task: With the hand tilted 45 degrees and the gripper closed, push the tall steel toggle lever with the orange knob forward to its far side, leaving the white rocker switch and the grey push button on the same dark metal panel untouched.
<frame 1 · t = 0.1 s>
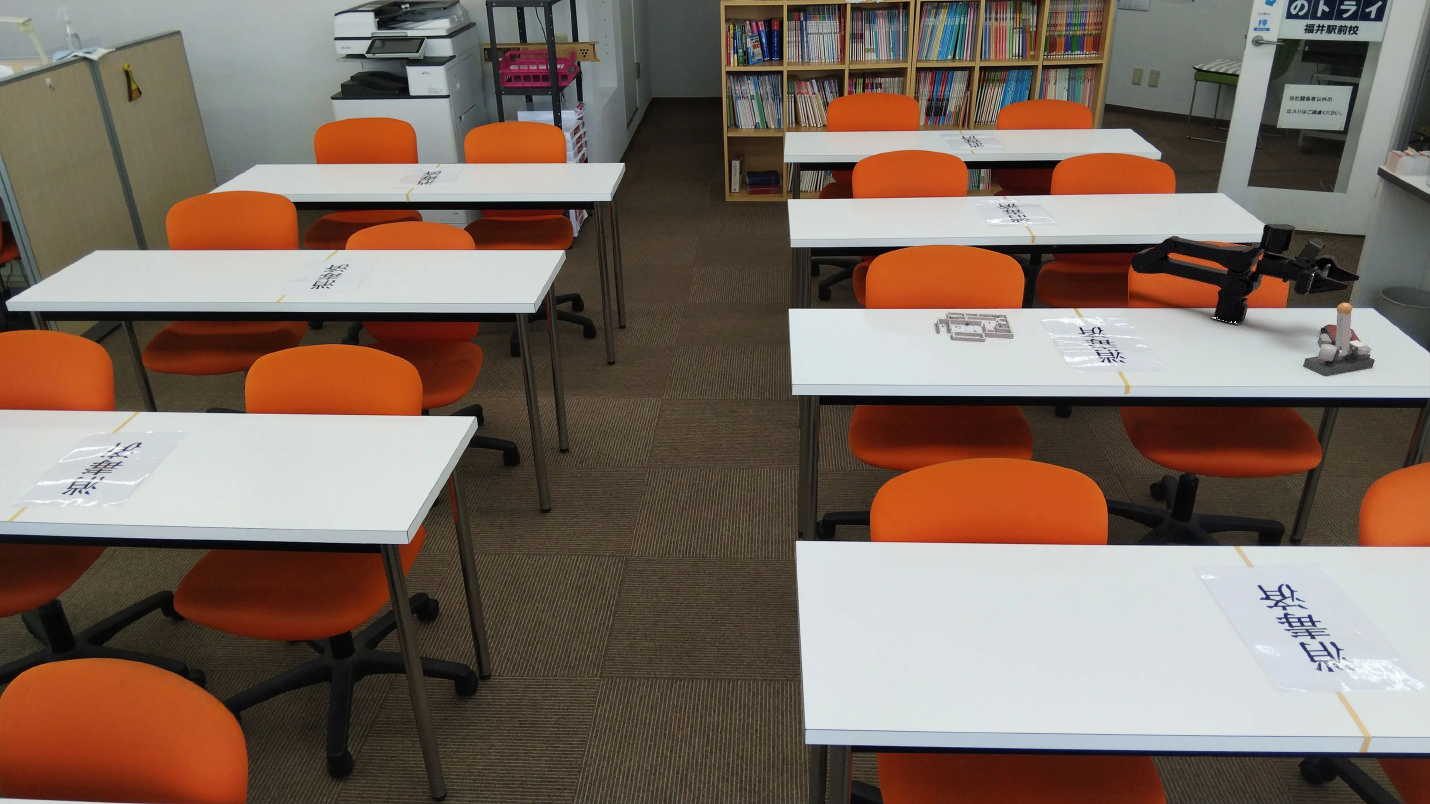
hand: (1353, 282, 230), 17 cm above the table, tool horizontal, fingers open, 9 cm apart
switch panel: (1337, 366, 226), on the table
push button: (1327, 352, 222), point 4 cm above the table, slide at 0.0 cm
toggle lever: (1343, 330, 223), point 9 cm above the table, hinge at -15.0°
rocker switch: (1358, 347, 225), point 4 cm above the table, hinge at 10.0°
walkie-talkie: (1337, 349, 237), on the table
floor plan model: (974, 334, 245), on the table
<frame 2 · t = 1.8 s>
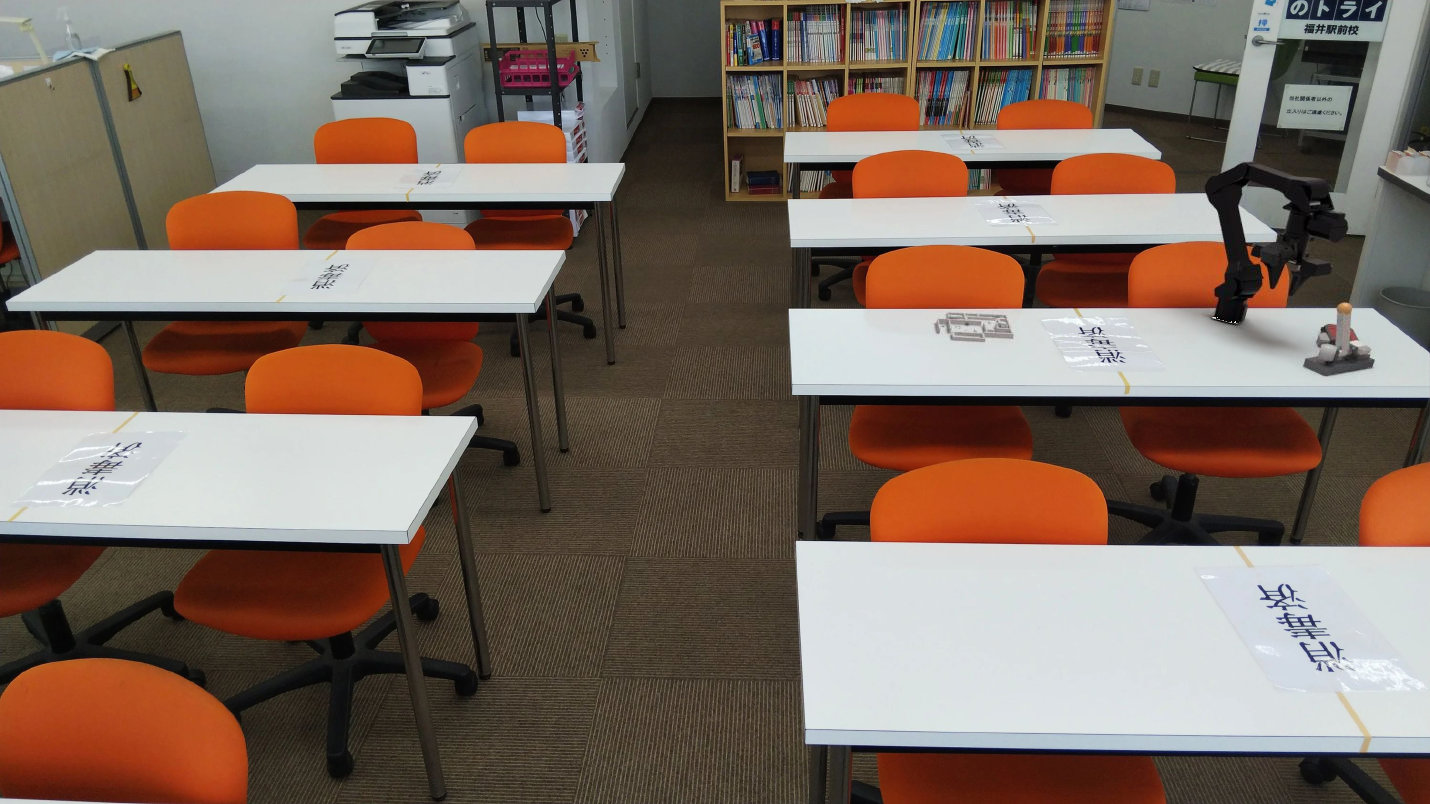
hand: (1281, 292, 237), 12 cm above the table, tool pointing down, fingers open, 5 cm apart
nothing on the table moved.
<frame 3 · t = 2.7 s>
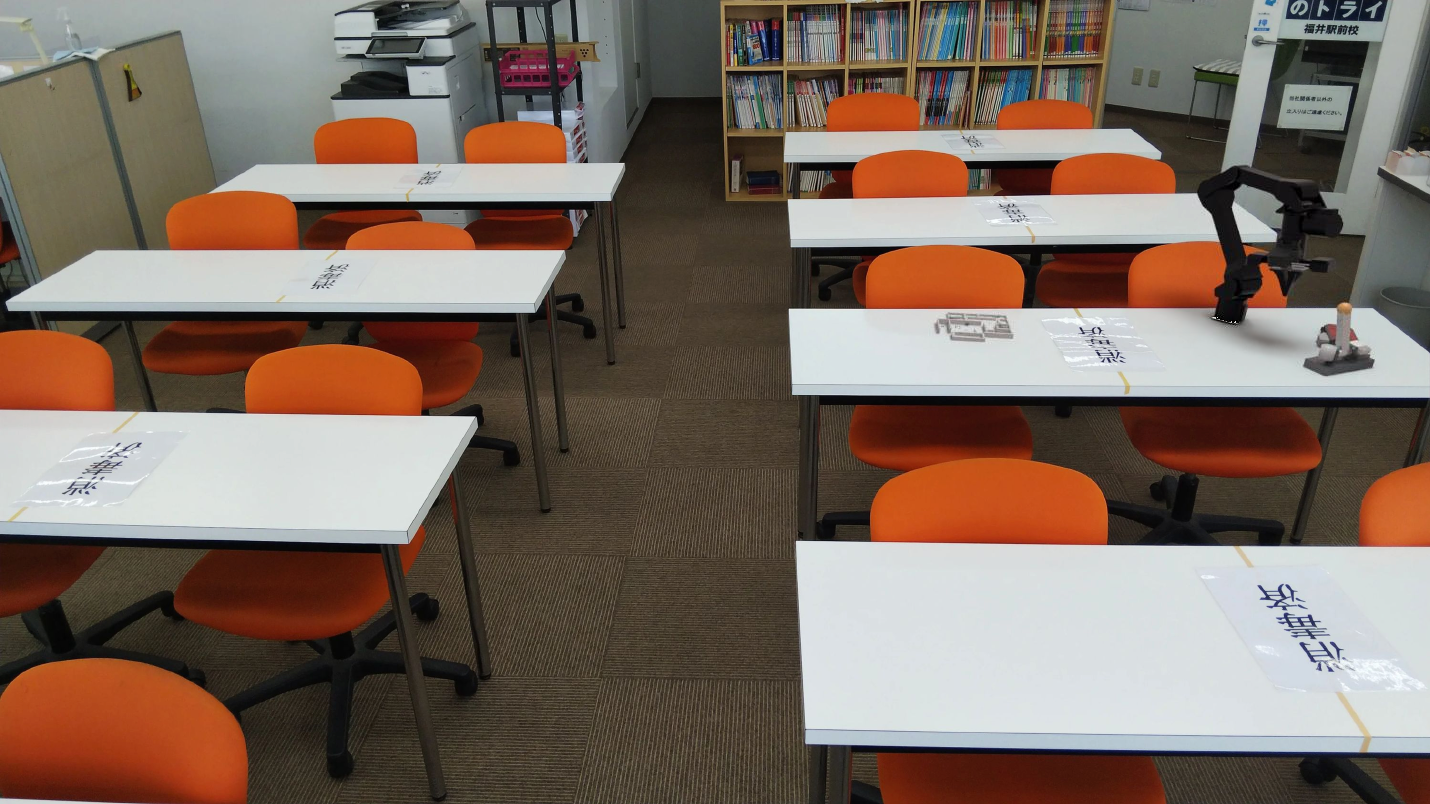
hand: (1285, 296, 236), 11 cm above the table, tool pointing down, fingers closed
nothing on the table moved.
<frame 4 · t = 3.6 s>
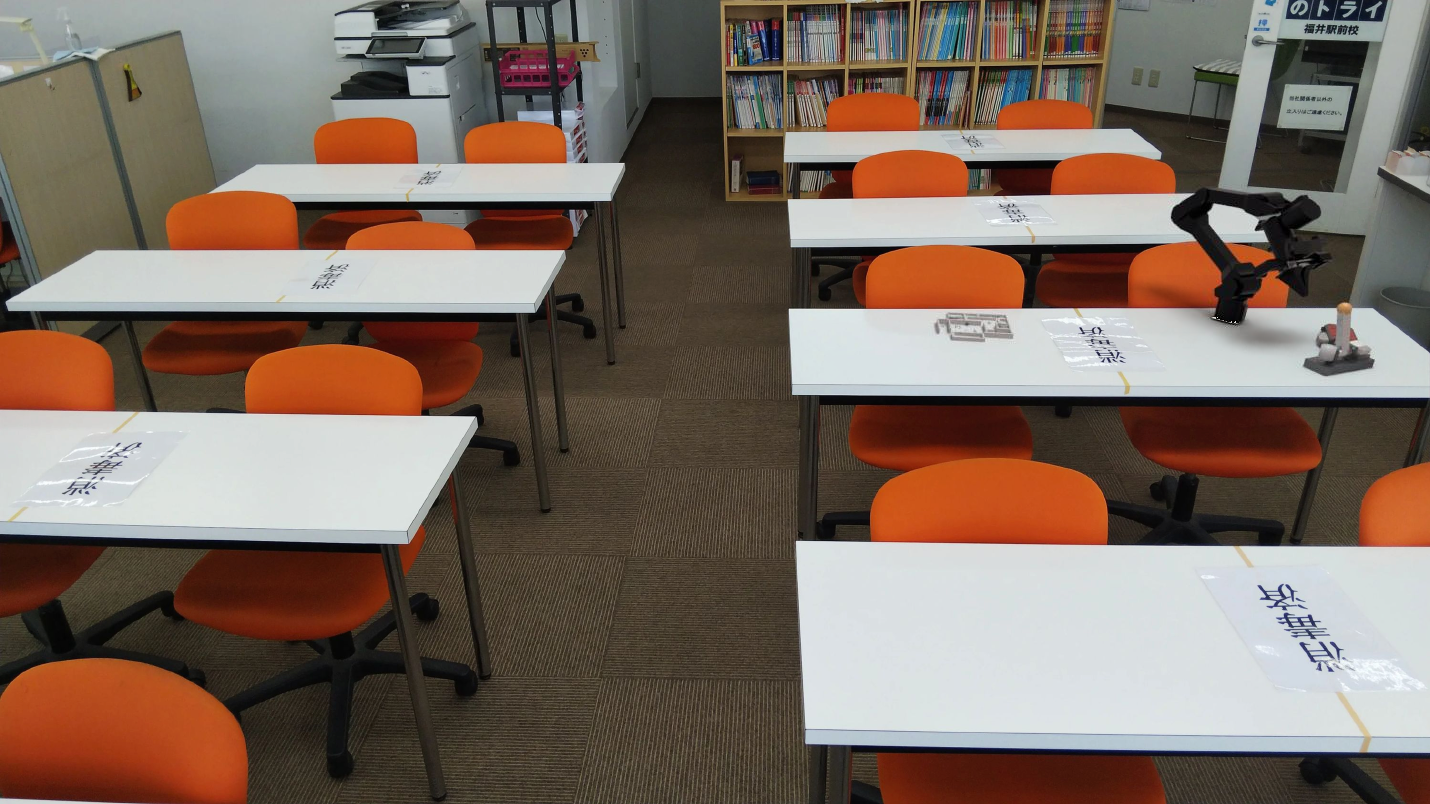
hand: (1305, 296, 231), 13 cm above the table, tool tilted 45°, fingers closed
nothing on the table moved.
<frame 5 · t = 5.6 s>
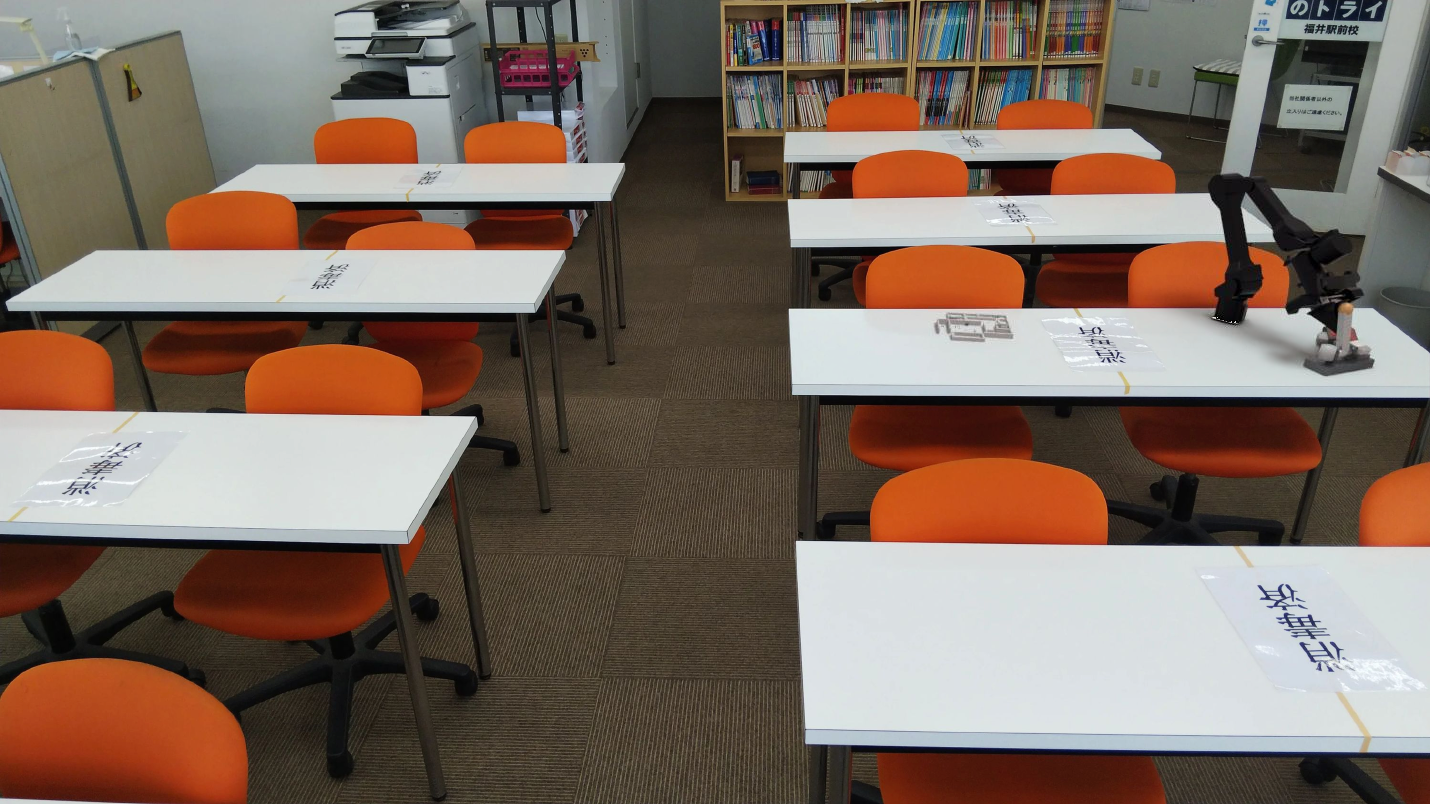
hand: (1339, 333, 224), 8 cm above the table, tool tilted 45°, fingers closed, pressing on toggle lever
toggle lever: (1344, 330, 223), point 9 cm above the table, hinge at -13.0°, touching gripper
everything else where it was.
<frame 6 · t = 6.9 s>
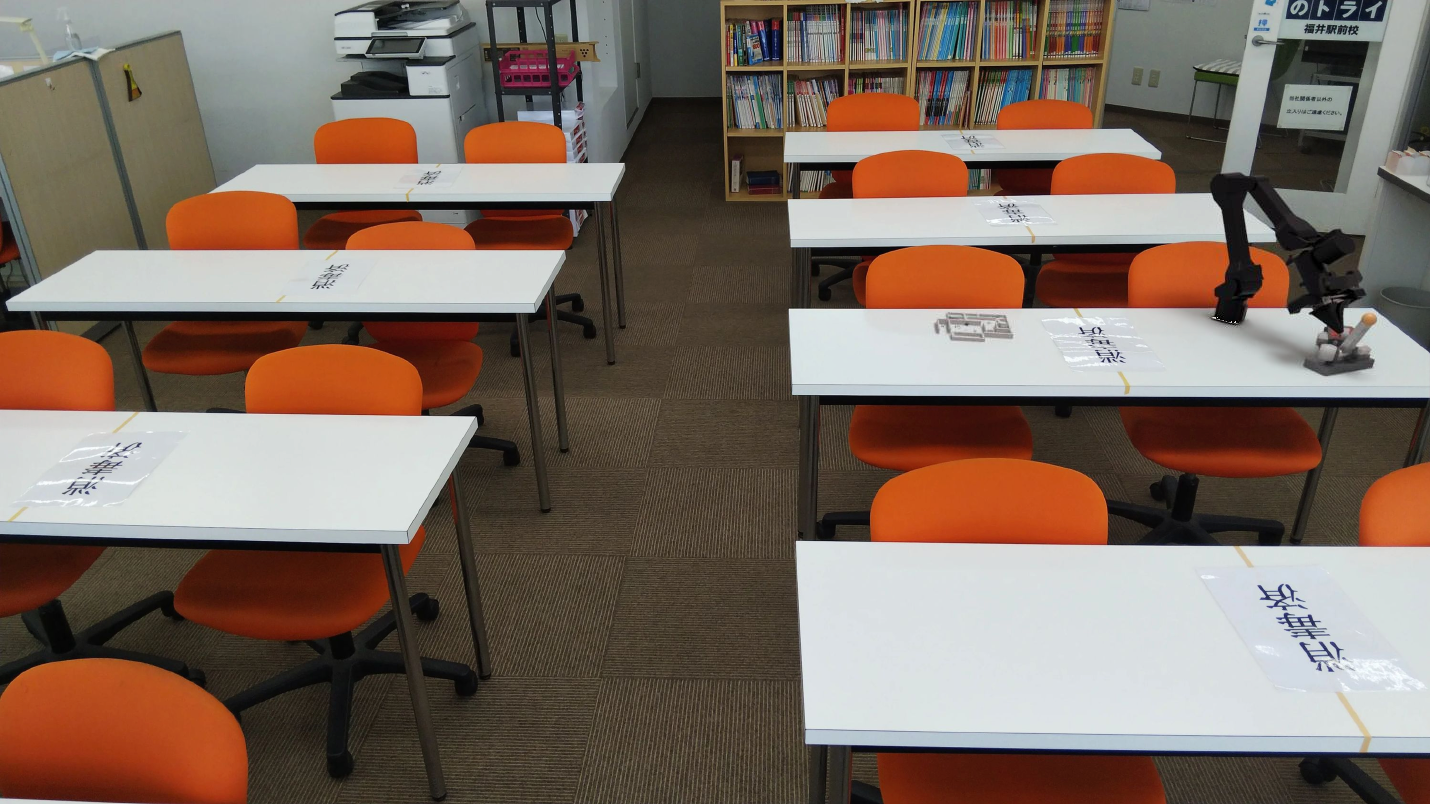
hand: (1341, 333, 224), 8 cm above the table, tool tilted 45°, fingers closed
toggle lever: (1355, 335, 220), point 9 cm above the table, hinge at 20.5°
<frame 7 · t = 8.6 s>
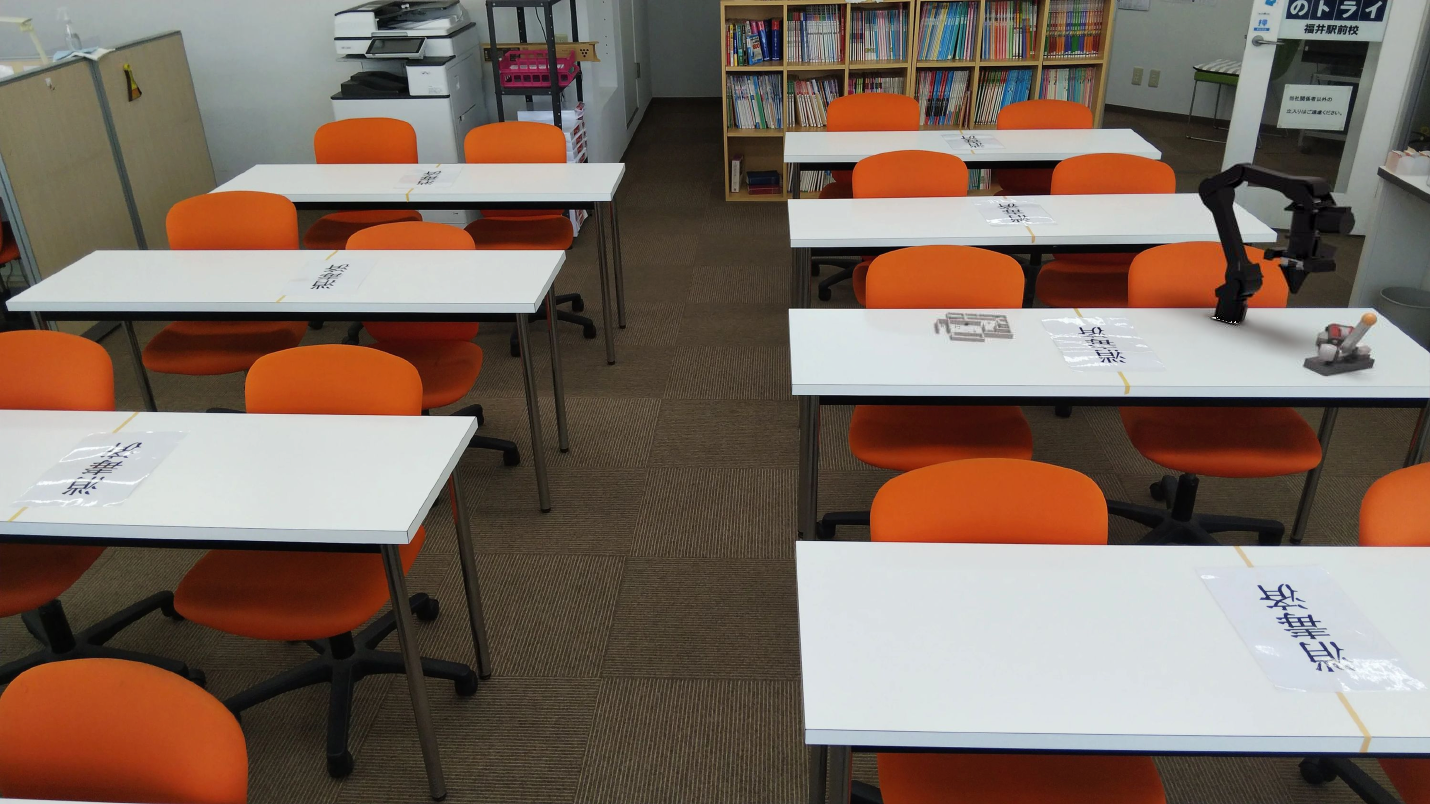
hand: (1293, 293, 236), 12 cm above the table, tool pointing down, fingers closed
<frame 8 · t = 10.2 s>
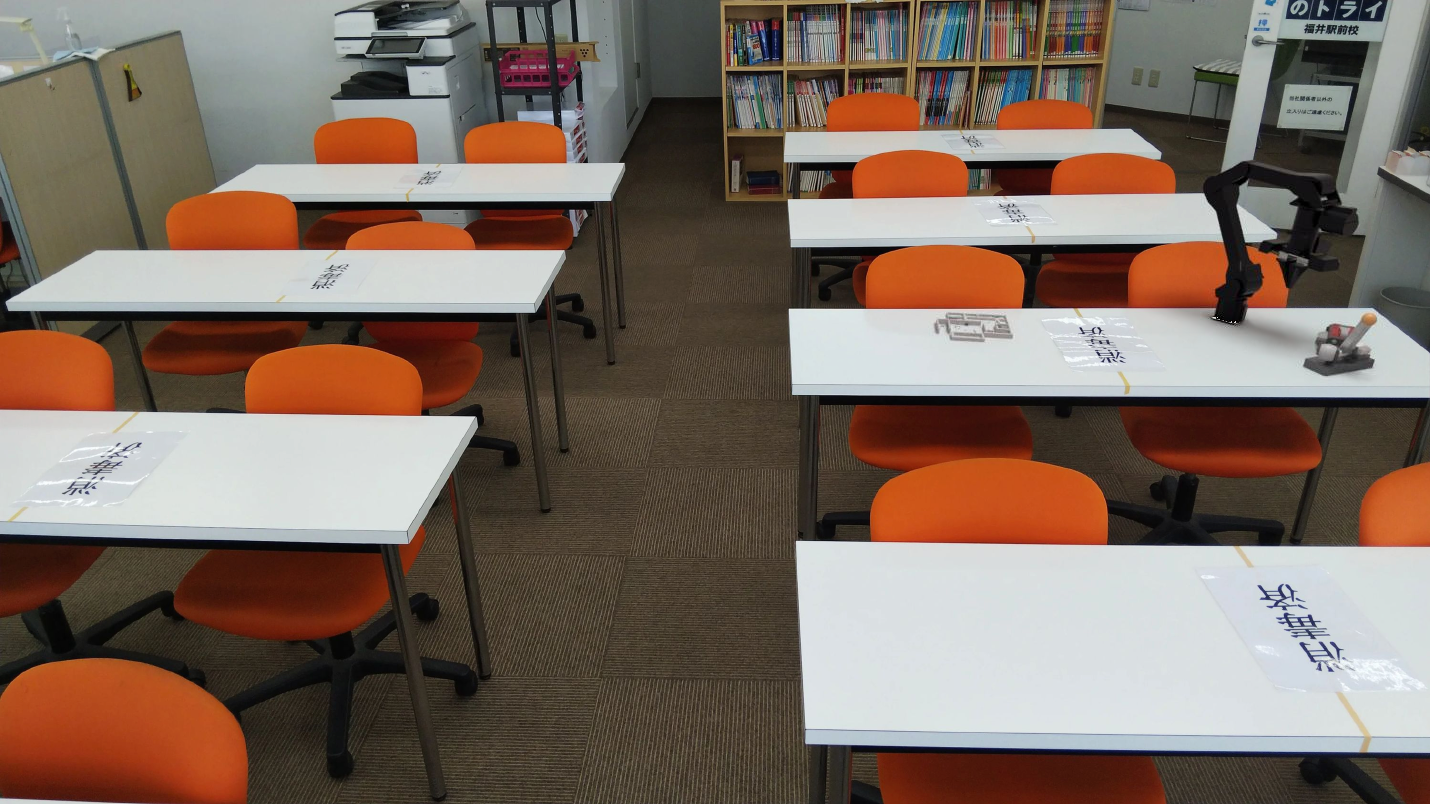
hand: (1288, 288, 237), 13 cm above the table, tool pointing down, fingers closed
at the end: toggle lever at +20° (first picture: -15°); rocker switch at +10° (first picture: +10°); push button slide at 0.0 cm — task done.
